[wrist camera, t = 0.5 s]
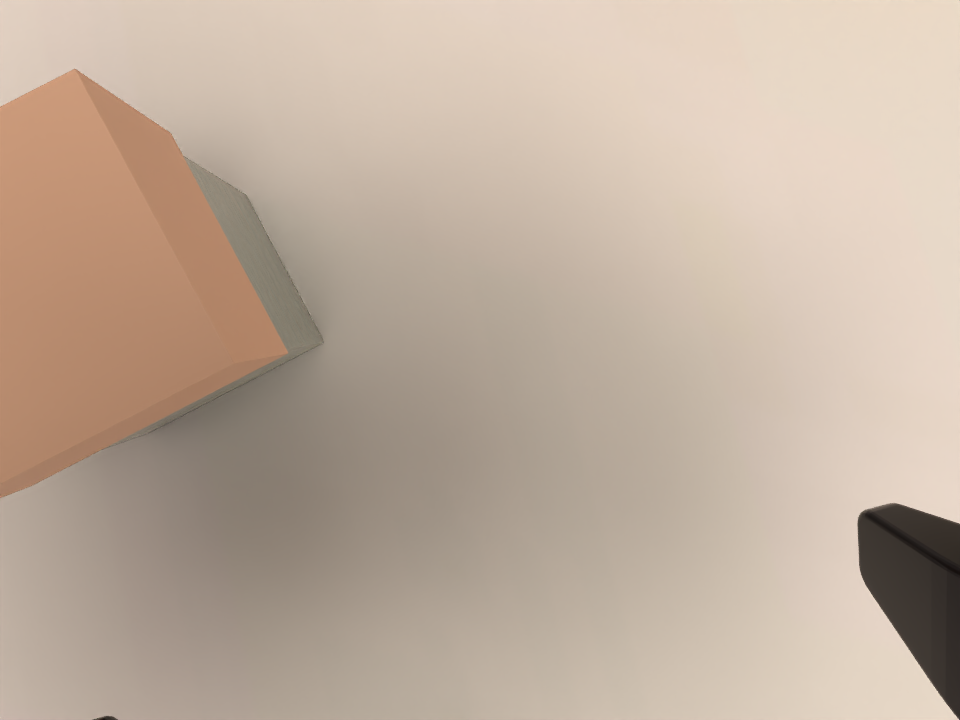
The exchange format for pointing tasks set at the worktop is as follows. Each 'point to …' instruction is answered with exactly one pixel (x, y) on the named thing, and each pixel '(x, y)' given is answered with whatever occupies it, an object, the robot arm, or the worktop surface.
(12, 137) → the rectangular block
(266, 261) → the tea tin
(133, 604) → the worktop surface
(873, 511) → the robot arm
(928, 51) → the worktop surface
